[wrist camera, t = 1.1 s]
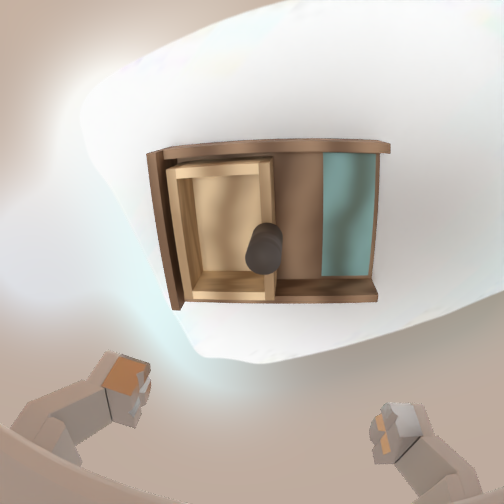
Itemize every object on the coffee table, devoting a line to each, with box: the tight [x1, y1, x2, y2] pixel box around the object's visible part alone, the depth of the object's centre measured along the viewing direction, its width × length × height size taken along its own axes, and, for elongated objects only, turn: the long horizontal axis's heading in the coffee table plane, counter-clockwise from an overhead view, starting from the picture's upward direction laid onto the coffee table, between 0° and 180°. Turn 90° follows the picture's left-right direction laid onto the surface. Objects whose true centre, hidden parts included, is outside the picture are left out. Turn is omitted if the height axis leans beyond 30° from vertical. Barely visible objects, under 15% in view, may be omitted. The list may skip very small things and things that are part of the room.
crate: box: [166, 156, 283, 300], centre depth 32 cm, size 11×14×11 cm
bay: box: [146, 138, 390, 310], centre depth 34 cm, size 24×18×7 cm
